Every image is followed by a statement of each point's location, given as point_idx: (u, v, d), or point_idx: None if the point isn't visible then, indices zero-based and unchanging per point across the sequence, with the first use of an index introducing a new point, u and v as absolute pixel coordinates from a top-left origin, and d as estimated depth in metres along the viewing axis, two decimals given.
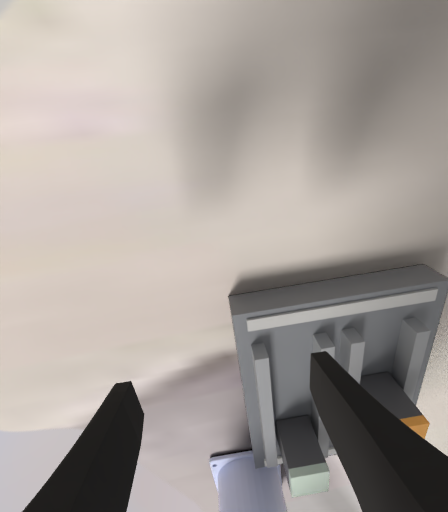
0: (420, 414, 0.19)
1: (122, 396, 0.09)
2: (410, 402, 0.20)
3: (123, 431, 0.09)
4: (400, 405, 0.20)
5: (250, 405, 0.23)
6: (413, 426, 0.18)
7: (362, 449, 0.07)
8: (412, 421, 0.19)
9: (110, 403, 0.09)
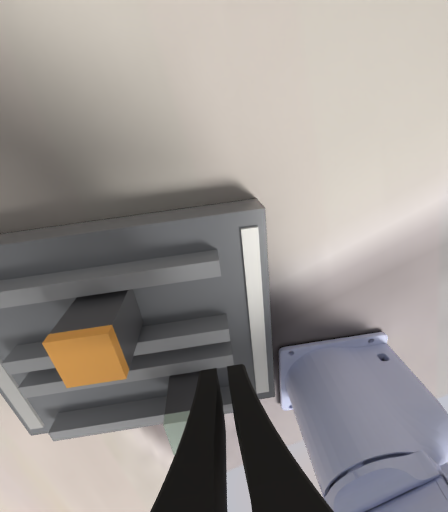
0: None
1: (215, 381, 0.09)
2: None
3: (219, 416, 0.09)
4: None
5: None
6: (53, 361, 0.12)
7: (246, 468, 0.07)
8: None
9: (206, 388, 0.09)
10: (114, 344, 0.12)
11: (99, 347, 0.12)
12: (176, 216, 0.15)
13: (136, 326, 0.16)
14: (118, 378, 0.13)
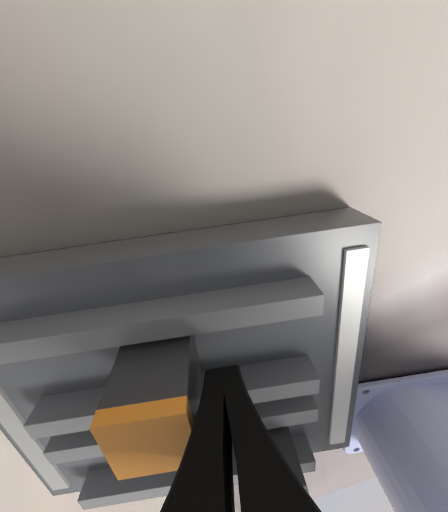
0: (98, 410, 0.09)
1: (222, 380, 0.09)
2: None
3: (226, 414, 0.09)
4: None
5: None
6: (102, 450, 0.08)
7: None
8: None
9: (212, 387, 0.09)
10: (190, 425, 0.08)
11: (170, 430, 0.08)
12: (256, 233, 0.11)
13: (198, 378, 0.12)
14: None
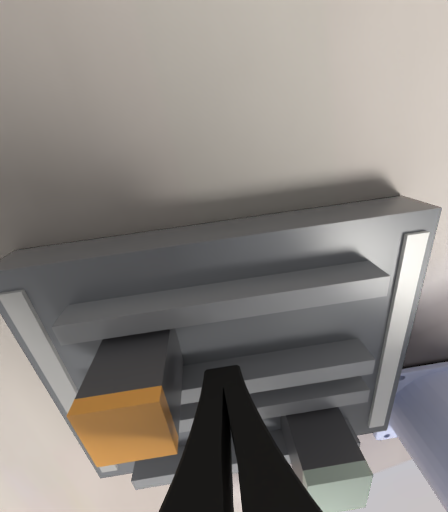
0: (76, 399, 0.09)
1: (221, 381, 0.09)
2: None
3: (225, 415, 0.09)
4: None
5: None
6: (80, 438, 0.09)
7: None
8: None
9: (211, 387, 0.09)
10: (165, 413, 0.09)
11: (145, 418, 0.09)
12: (319, 218, 0.12)
13: (179, 371, 0.12)
14: (167, 454, 0.10)
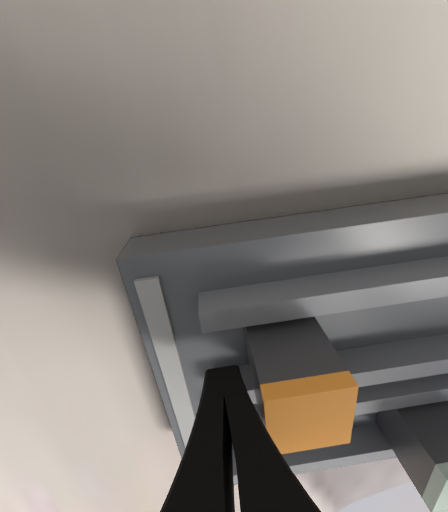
0: (259, 385, 0.09)
1: (222, 380, 0.09)
2: (254, 364, 0.10)
3: (226, 414, 0.09)
4: (256, 382, 0.10)
5: None
6: (266, 425, 0.09)
7: None
8: (263, 412, 0.09)
9: (212, 387, 0.09)
10: (354, 399, 0.09)
11: (337, 404, 0.08)
12: None
13: None
14: (340, 442, 0.09)
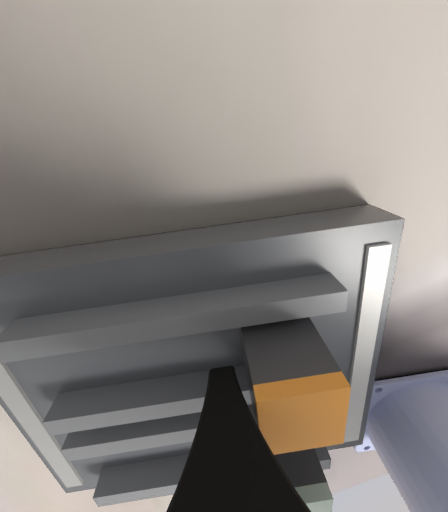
0: (252, 385, 0.09)
1: (226, 380, 0.09)
2: (248, 364, 0.10)
3: None
4: (250, 382, 0.10)
5: None
6: (260, 425, 0.09)
7: None
8: (256, 413, 0.09)
9: (217, 386, 0.09)
10: (347, 400, 0.09)
11: (330, 405, 0.08)
12: (278, 229, 0.11)
13: None
14: (334, 443, 0.09)
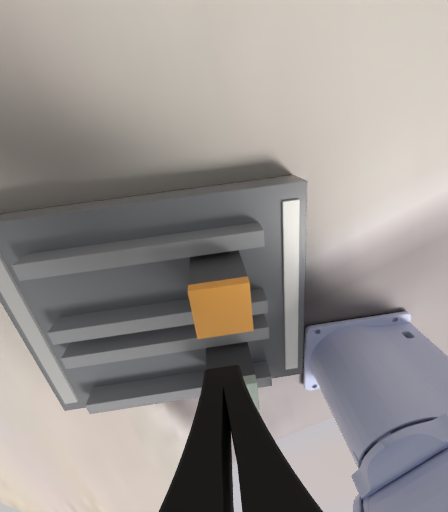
0: None
1: (221, 380, 0.09)
2: (189, 277, 0.14)
3: (225, 415, 0.09)
4: None
5: None
6: (192, 311, 0.13)
7: None
8: None
9: (211, 387, 0.09)
10: (250, 294, 0.13)
11: (238, 297, 0.13)
12: (219, 189, 0.16)
13: None
14: (246, 330, 0.14)
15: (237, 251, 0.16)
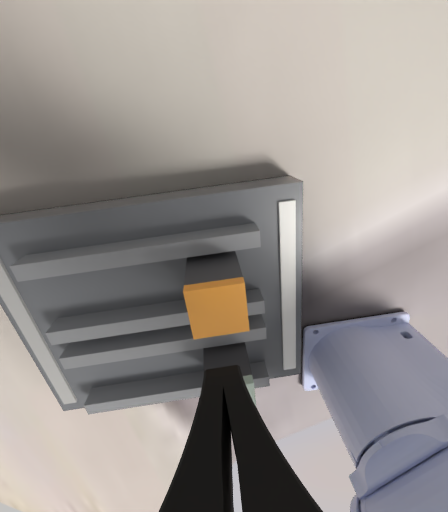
0: (184, 286, 0.13)
1: (221, 381, 0.09)
2: (185, 278, 0.14)
3: (225, 415, 0.09)
4: None
5: None
6: (188, 311, 0.13)
7: None
8: None
9: (211, 387, 0.09)
10: (245, 295, 0.13)
11: (233, 297, 0.13)
12: (215, 190, 0.16)
13: None
14: (242, 330, 0.14)
15: (234, 252, 0.16)
